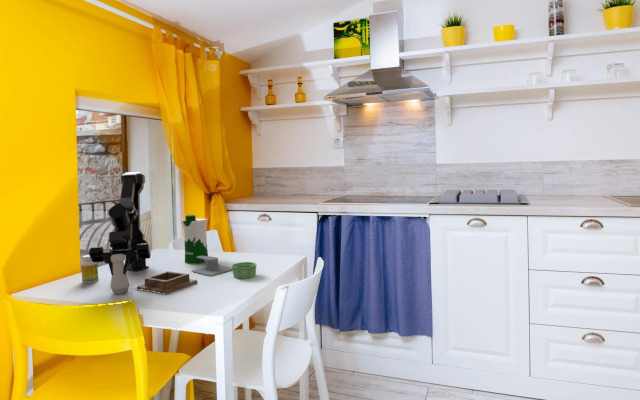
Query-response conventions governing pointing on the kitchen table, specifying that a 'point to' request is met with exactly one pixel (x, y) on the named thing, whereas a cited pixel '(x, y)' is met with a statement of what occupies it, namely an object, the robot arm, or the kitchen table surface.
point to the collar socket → (167, 282)
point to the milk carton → (194, 239)
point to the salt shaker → (119, 275)
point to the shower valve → (211, 267)
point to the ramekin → (244, 270)
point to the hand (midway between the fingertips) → (118, 274)
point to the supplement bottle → (89, 270)
